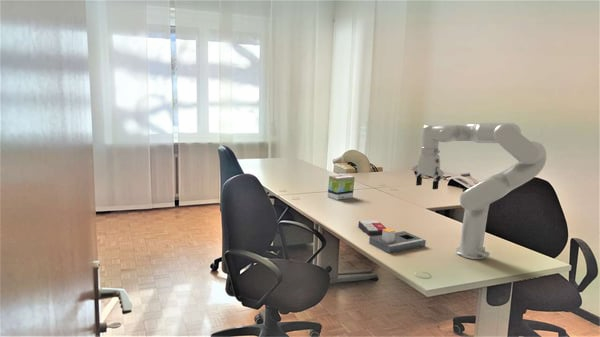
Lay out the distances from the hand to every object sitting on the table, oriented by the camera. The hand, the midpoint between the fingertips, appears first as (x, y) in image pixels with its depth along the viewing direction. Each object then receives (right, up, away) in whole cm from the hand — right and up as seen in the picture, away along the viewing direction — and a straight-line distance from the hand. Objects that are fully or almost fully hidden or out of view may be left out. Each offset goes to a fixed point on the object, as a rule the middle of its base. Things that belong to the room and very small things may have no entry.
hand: (426, 187), depth 200 cm
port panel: (-15, -27, -3) cm, 31 cm away
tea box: (-33, -11, +85) cm, 92 cm away
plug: (-20, -27, -6) cm, 34 cm away
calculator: (-23, -24, +17) cm, 37 cm away
